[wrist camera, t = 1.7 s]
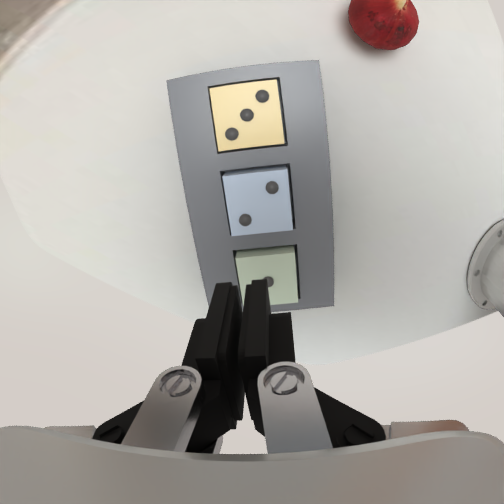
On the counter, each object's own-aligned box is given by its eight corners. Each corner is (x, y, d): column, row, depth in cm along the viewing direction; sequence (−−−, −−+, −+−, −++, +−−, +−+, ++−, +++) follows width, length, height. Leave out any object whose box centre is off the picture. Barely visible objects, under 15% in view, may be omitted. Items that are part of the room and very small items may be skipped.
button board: (312, 66, 24) (318, 60, 21) (328, 287, 33) (333, 305, 30) (178, 83, 25) (166, 80, 22) (216, 297, 34) (211, 316, 31)
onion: (401, 58, 23) (443, 45, 15) (343, 53, 23) (370, 34, 16) (394, 5, 20) (430, -22, 13) (336, -2, 21) (358, -35, 13)
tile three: (275, 82, 22) (276, 79, 20) (283, 141, 24) (284, 143, 22) (213, 90, 23) (209, 88, 21) (222, 148, 25) (218, 151, 23)
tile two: (285, 165, 25) (287, 169, 23) (291, 222, 27) (293, 231, 25) (225, 172, 26) (222, 177, 24) (234, 227, 28) (231, 237, 26)
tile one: (292, 243, 28) (294, 253, 26) (296, 290, 30) (298, 303, 28) (237, 248, 29) (235, 259, 27) (244, 295, 31) (243, 308, 29)
